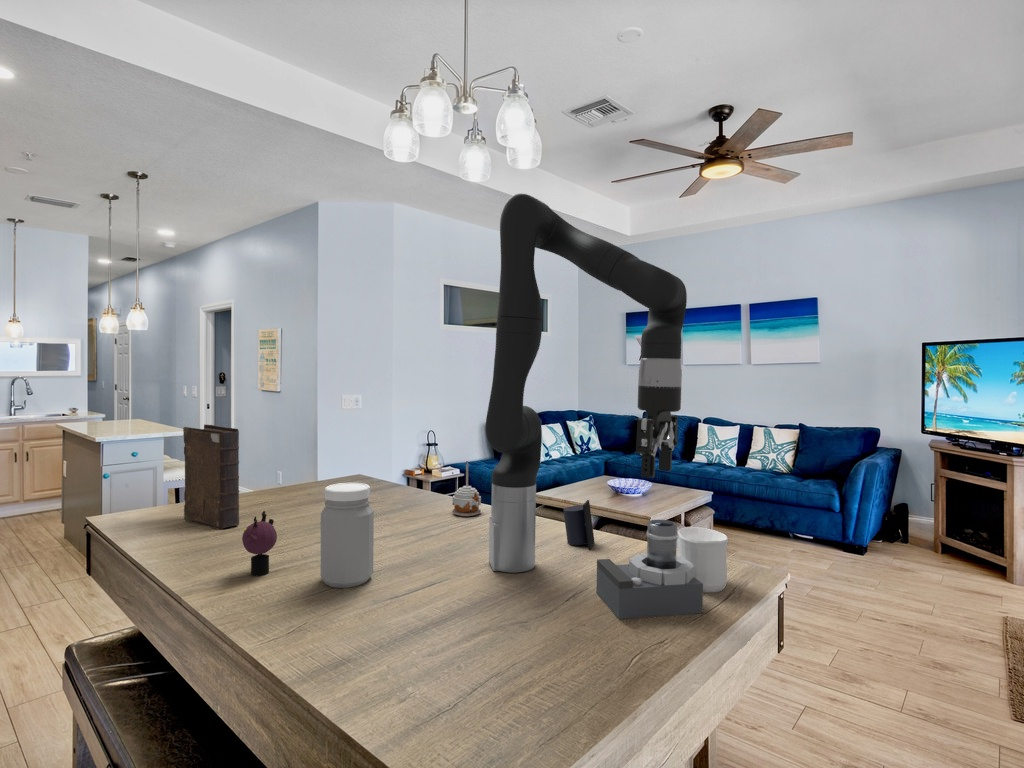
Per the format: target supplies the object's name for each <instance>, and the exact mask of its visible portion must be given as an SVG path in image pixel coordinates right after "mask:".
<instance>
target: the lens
mask: <svg viewBox="0 0 1024 768" xmlns="http://www.w3.org/2000/svg"><path fill="white" fill-rule="evenodd" d="M646 537H647V539H646V541H647V545H646V546H647V547H646V549H647V550H646V553H647V566H649V567H654V568H658V569H676V556H677V549H678V524H677V523H676V522H674V521H671V520H667V519H651V520H648V521H647V530H646Z"/></svg>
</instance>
